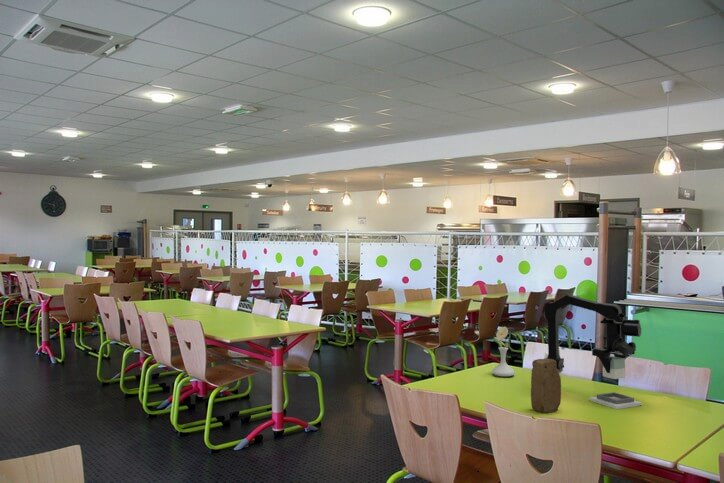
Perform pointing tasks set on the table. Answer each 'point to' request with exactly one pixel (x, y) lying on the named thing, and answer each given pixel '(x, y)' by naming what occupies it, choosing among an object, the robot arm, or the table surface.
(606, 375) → the grey green box
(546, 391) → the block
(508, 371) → the flower in vase
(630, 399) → the socket plate
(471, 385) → the table surface
